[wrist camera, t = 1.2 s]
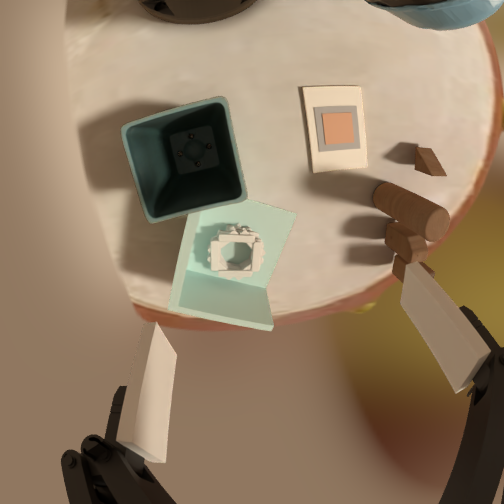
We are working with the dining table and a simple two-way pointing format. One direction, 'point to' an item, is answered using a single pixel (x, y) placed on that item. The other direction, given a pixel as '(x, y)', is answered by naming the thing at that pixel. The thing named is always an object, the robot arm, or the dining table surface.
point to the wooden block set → (412, 217)
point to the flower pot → (185, 160)
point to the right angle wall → (230, 263)
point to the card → (335, 127)
